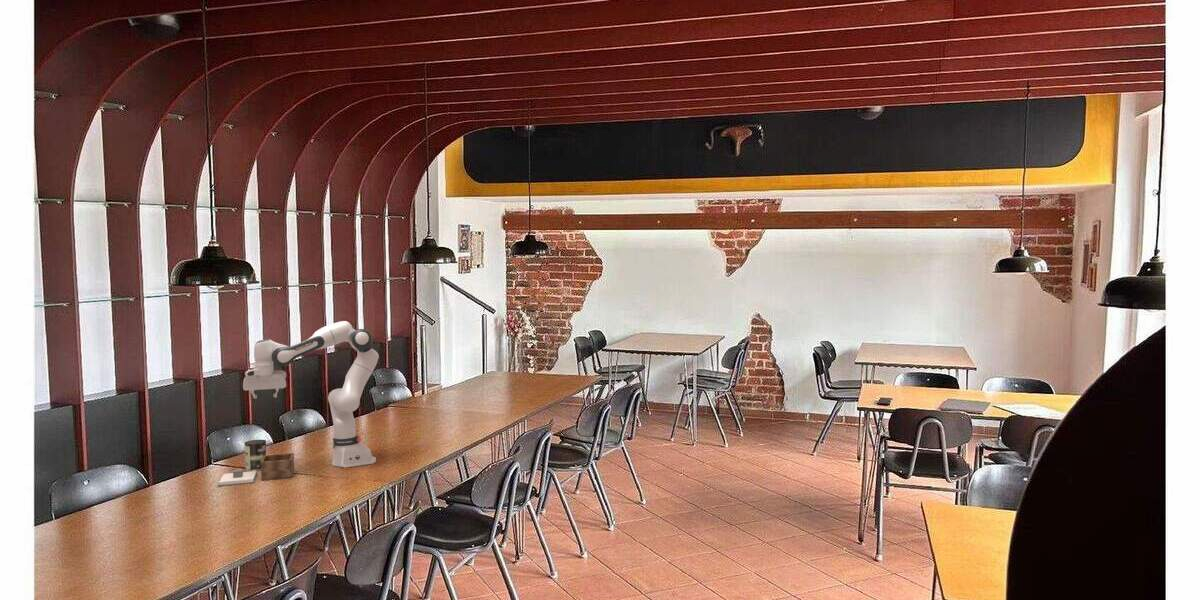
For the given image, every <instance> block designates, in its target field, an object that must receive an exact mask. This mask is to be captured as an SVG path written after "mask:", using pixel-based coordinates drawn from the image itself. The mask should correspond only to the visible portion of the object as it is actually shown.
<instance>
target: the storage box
mask: <svg viewBox="0 0 1200 600" xmlns="http://www.w3.org/2000/svg"><path fill="white" fill-rule="evenodd" d="M294 455H295V453H294V452H293V453H291V452H290V453H279V454H266V455H265V456H263V459H262V461H261V470H260V474H261V475H260V476H261V477H260V478H261V481H271V480H283V479H293V476H294V472H295V456H294Z"/></svg>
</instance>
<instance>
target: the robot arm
mask: <svg viewBox="0 0 1200 600" xmlns="http://www.w3.org/2000/svg"><path fill="white" fill-rule="evenodd" d="M344 342H345V343H347V344H348V345H349V346H350V348H352V349H353V350H355V352H357V355H356V358H355V359H354V361H353V363H352V365H351V366H350V368H349V369H348V371H347V373H346V375H345V378H344V383H343V386H342V387H341V388H335V389H333V390H331V391H330V392H329V393H328V396H327V400H328V403H329V408H330V414H331V418H332V423H333V437H332V448H333V455H332V461H331V466H333V467H340V468H352V467H353V468H354V467H361V466H366V465H373V464H375V463H376V462H377V457H375V456H373V455H372V450H371V448H369V447H368V446H366V445H365V444H363V443H362V442H361V441H362V440H361V437H360V436H359V435H356V434H357V433H356V432H357V431H356V420H355V417H354V413H353V412H355V411H356V410H357V409H358V408H359V406H360V403H361V401H360V399H361V397H362V394H363V391H364V388H365V386H366V385H367V382H368V381H369V379H370V377H371V376H372V373H374V371H375V369H376V366H377V363H378V360H379V358H380V356H379V353H378V352H377V350H375V349H373V336H372V334H371V332H370V331H369V330H367V329H365V328H358V329H357V330H356V329H354V327H353V326H352V324H351V323H350V322H349V321H346V320H341V321H337V322H333V323H329V324H328V325H326V326H325V325H324V326H322V327H320V328H319V329H318V330H316V331H314V333H313V334H312V335H311V336H310V337H309V338H308V339H306V340H303V341H301V342H299V343H295V344H294V345H289V346H288V345H286V344H283V343H278V342H276V341H273V340H272V339H271V338H265V339H261V340H258V341H257V342H255V344H254V348H253V356H254V357H253V358H254V368H251V369H248V370H247V371H245V373H244V375H245V377H244V379H243V381H242V389H243V391H246V392H247V391H250V394H251V395H252V397H253V399H254V400H255V399H258V394H255V391H259V390H260V391H261V390H274V389H275V391H276V392H275V393H273V394H272V395H273V396H272V397H273V398H277V397H278V396H277V395H278V393H279V390H280V389H285V388H286V387H287V382H286V381H287V380H286V378H287V372H286V371H285V370H282V369H281V370H275V369H274V365H275V366H278V367H287V366H289V365H290V364H292V362H293V361H295V360H296V359H297V358H299V357H301V356H304V355H306V354H309V353H310V352H313V351H318V350H322V349H326V348H330V347H333V346H336V345H338V344H341V343H344Z"/></svg>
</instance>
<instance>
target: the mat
mask: <svg viewBox="0 0 1200 600" xmlns="http://www.w3.org/2000/svg"><path fill="white" fill-rule="evenodd" d="M258 474H259V473H257V475H256V477H255V479H254V481H253V482H248V483H238V484H227V485H219V483H218V484H217V487H225V486H226V487H227V486H236V485H246V484H247V485H248V484H254V483H255V481H256V479H257V478H258Z"/></svg>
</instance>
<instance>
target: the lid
mask: <svg viewBox="0 0 1200 600" xmlns="http://www.w3.org/2000/svg"><path fill="white" fill-rule="evenodd" d="M257 474H258V471H244V469H243V468H239V469H233V471H232V473H223V475H222V477H221V478H220V480H219V481H218V484H219V485H227V484H238V483H248V482H253V481H254V479H255V477H256V475H257ZM257 476H258V475H257ZM256 478H257V477H256Z"/></svg>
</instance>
